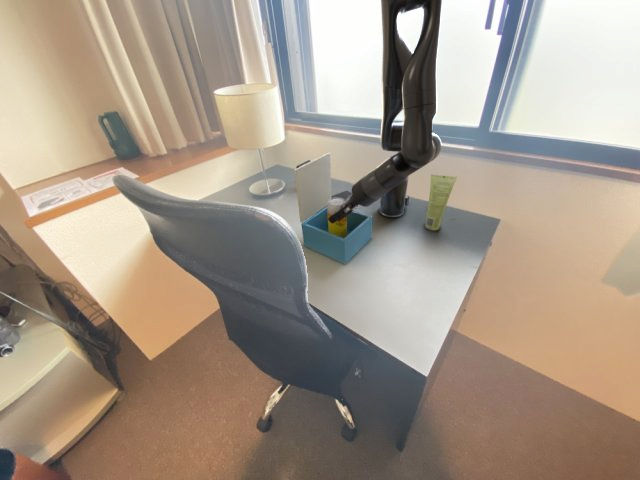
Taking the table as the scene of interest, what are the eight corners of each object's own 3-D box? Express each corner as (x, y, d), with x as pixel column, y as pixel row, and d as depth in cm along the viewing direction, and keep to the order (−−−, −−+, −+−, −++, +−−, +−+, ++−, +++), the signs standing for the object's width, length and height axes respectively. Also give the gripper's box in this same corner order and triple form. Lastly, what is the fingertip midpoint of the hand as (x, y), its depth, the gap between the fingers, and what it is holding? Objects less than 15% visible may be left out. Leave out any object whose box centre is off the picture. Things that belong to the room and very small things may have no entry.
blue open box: (371, 238, 94) (372, 216, 88) (344, 264, 84) (344, 241, 79) (331, 224, 103) (330, 203, 97) (304, 245, 93) (301, 223, 88)
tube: (434, 221, 99) (445, 170, 88) (444, 228, 96) (457, 176, 84) (421, 225, 98) (431, 174, 86) (430, 232, 94) (442, 180, 83)
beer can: (345, 246, 90) (345, 206, 81) (327, 244, 91) (325, 205, 82) (347, 235, 94) (347, 196, 85) (330, 234, 95) (328, 196, 87)
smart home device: (308, 204, 113) (346, 189, 121) (308, 207, 114) (346, 193, 122) (319, 212, 107) (358, 196, 115) (319, 215, 108) (358, 200, 116)
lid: (330, 152, 86) (317, 150, 89) (296, 170, 76) (283, 166, 79) (331, 202, 97) (320, 198, 99) (301, 222, 87) (290, 218, 90)
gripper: (372, 167, 80) (338, 195, 91) (353, 187, 70) (317, 216, 82) (388, 186, 80) (352, 212, 92) (371, 209, 71) (334, 234, 82)
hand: (336, 214), depth 87 cm, fingers open, 8 cm apart
